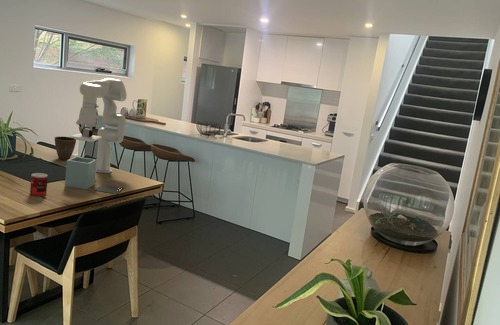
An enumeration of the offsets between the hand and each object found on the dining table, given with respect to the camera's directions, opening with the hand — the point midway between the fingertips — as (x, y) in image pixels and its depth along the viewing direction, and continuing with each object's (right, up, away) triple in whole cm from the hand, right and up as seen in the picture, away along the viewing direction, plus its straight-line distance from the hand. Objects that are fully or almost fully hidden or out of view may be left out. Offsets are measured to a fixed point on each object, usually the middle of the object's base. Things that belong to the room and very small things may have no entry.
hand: (86, 135), depth 231 cm
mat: (+11, -33, +7) cm, 35 cm away
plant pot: (-43, -14, +61) cm, 76 cm away
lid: (0, -1, 0) cm, 1 cm away
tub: (-6, -30, +5) cm, 31 cm away
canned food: (-17, -34, -22) cm, 44 cm away
